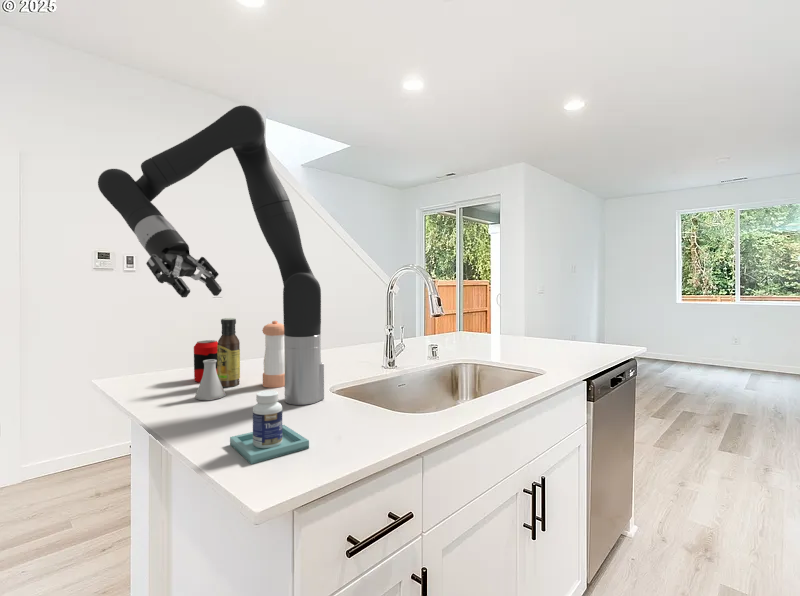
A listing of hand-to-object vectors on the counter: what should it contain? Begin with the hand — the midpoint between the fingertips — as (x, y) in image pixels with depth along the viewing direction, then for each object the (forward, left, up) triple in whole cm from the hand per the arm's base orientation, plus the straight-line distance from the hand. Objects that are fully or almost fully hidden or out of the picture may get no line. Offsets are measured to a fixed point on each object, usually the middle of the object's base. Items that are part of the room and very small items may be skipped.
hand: (203, 293), depth 91 cm
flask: (-7, -23, -29) cm, 38 cm away
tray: (-6, +19, -29) cm, 35 cm away
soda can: (-12, -44, -29) cm, 54 cm away
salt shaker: (-26, -25, -29) cm, 46 cm away
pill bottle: (-6, +19, -28) cm, 34 cm away
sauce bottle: (-15, -33, -29) cm, 47 cm away
